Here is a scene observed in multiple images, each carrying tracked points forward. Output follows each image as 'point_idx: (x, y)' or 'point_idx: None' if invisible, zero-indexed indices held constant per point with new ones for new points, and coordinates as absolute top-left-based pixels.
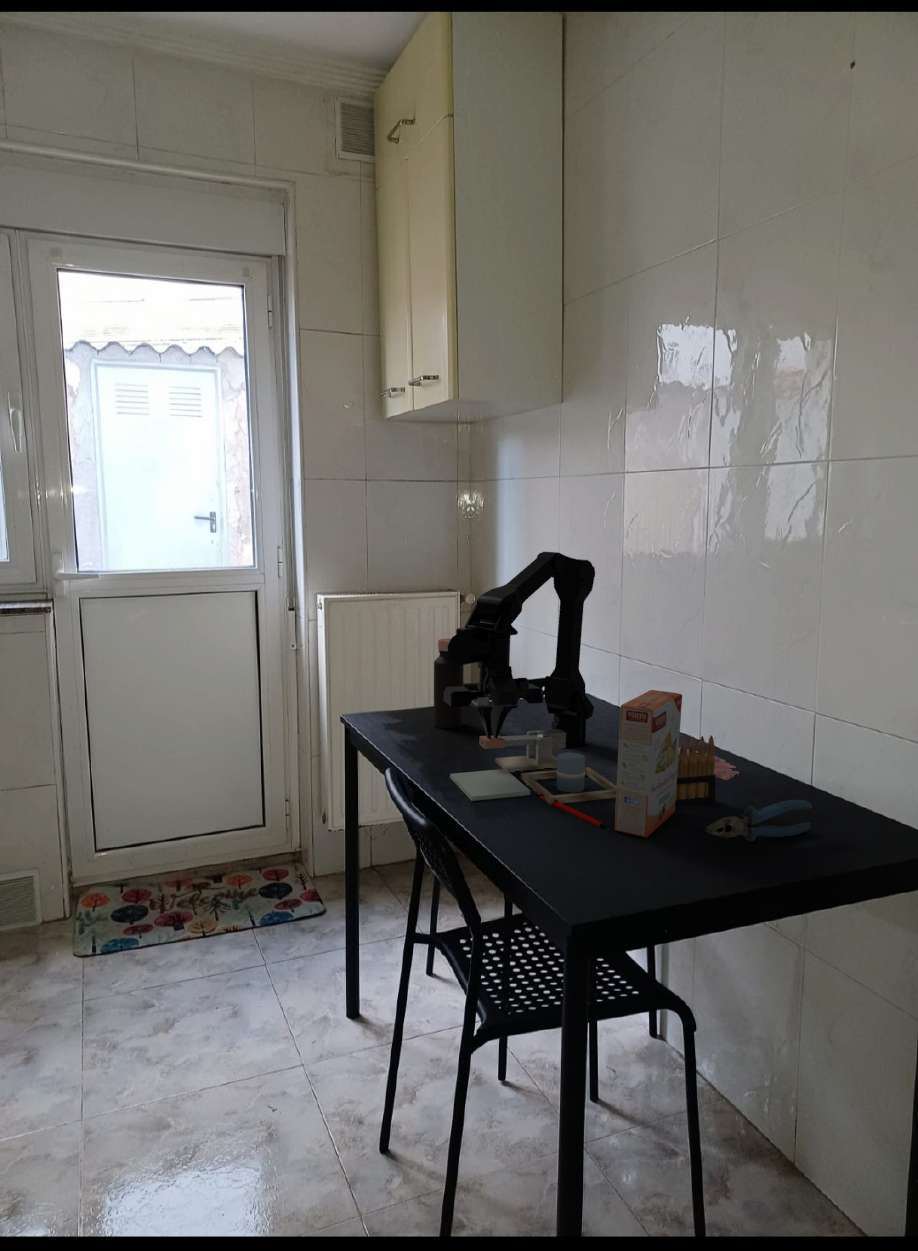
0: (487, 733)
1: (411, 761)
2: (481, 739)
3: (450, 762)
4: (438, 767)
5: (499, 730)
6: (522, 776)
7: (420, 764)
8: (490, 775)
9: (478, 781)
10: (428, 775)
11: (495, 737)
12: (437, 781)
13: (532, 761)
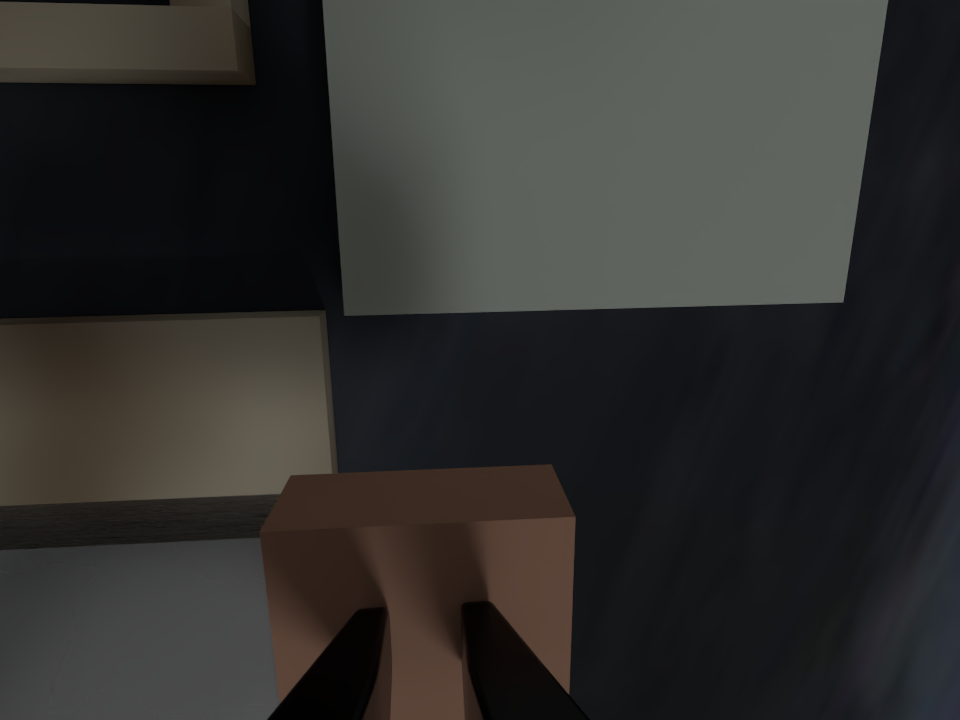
0: (529, 655)
1: (901, 698)
2: (564, 645)
3: (673, 640)
4: (793, 553)
5: (307, 691)
6: (238, 22)
7: (876, 633)
8: (539, 161)
9: (709, 14)
10: (931, 399)
11: (385, 616)
12: (935, 246)
13: (15, 468)
